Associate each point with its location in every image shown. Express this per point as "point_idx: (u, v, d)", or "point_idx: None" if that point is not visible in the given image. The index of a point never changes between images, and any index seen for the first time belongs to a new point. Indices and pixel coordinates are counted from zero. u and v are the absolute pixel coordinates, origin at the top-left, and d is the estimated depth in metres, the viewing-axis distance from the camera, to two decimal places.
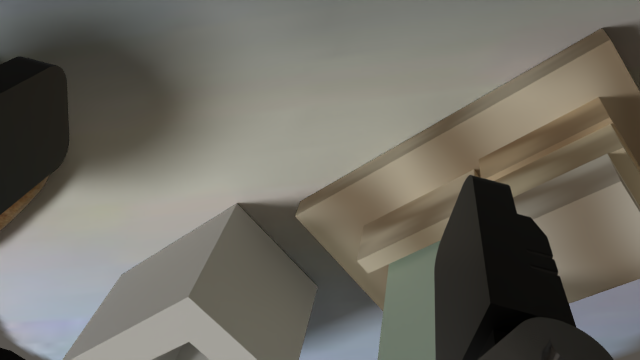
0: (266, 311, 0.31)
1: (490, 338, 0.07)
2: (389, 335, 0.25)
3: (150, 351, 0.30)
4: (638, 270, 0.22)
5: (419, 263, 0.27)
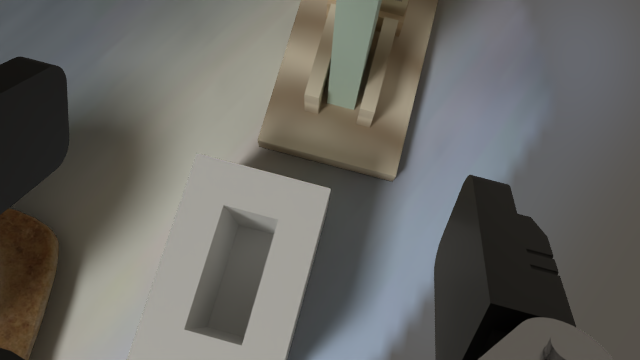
0: None
1: (490, 338, 0.07)
2: None
3: (199, 249, 0.30)
4: None
5: None
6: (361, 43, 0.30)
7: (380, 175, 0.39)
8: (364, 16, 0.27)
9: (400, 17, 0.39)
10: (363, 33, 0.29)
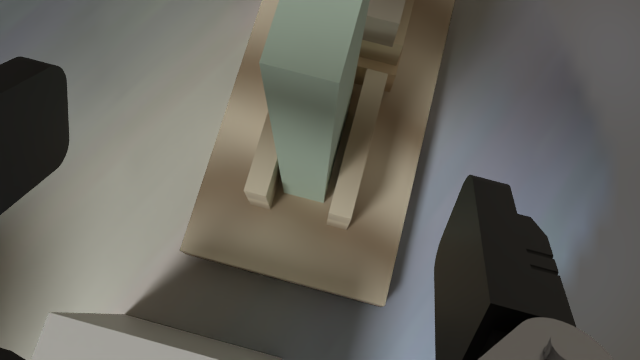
0: (198, 345, 0.22)
1: (490, 338, 0.07)
2: None
3: None
4: None
5: None
6: (319, 136, 0.17)
7: (362, 301, 0.26)
8: (317, 103, 0.15)
9: (391, 67, 0.26)
10: (320, 125, 0.16)
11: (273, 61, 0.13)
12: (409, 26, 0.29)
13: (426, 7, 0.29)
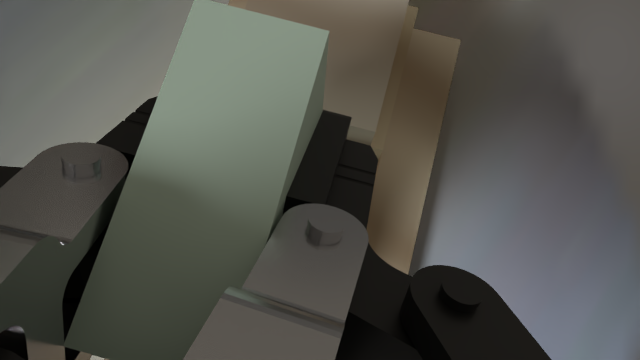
0: None
1: None
2: None
3: None
4: (390, 14, 0.17)
5: None
6: None
7: None
8: None
9: None
10: None
11: (93, 340, 0.07)
12: (395, 103, 0.23)
13: (417, 77, 0.23)
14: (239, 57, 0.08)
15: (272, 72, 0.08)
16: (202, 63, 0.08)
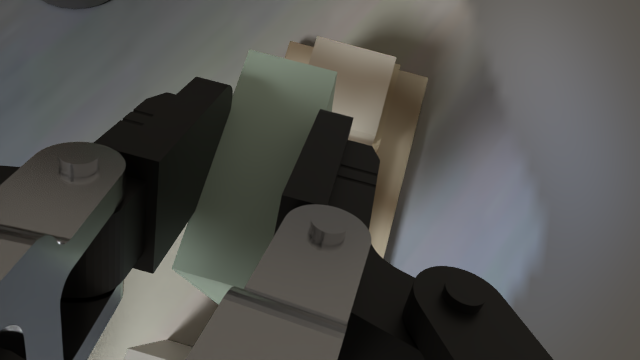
0: None
1: None
2: None
3: None
4: (384, 73, 0.32)
5: None
6: None
7: None
8: None
9: None
10: None
11: (190, 266, 0.11)
12: (387, 116, 0.37)
13: (401, 100, 0.38)
14: (278, 89, 0.12)
15: (300, 98, 0.12)
16: (255, 92, 0.12)
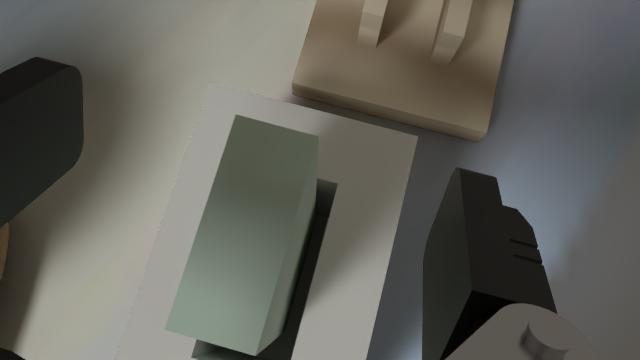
0: None
1: (473, 325, 0.07)
2: None
3: None
4: None
5: None
6: None
7: (463, 133, 0.28)
8: None
9: None
10: None
11: (181, 326, 0.12)
12: None
13: None
14: (263, 154, 0.13)
15: (283, 163, 0.12)
16: (240, 158, 0.12)
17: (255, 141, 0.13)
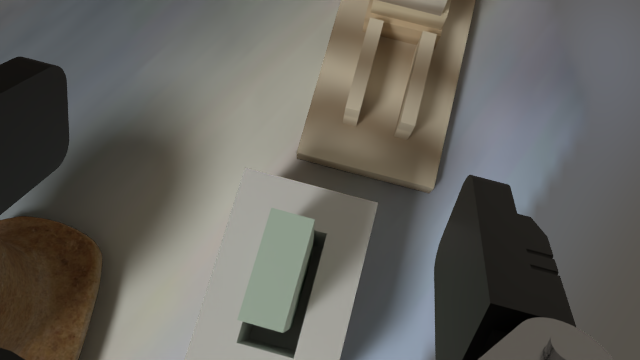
0: None
1: (490, 338, 0.07)
2: None
3: (250, 263, 0.31)
4: None
5: None
6: None
7: (418, 187, 0.39)
8: None
9: (437, 31, 0.39)
10: None
11: (245, 318, 0.23)
12: None
13: None
14: (285, 229, 0.24)
15: (296, 234, 0.24)
16: (274, 231, 0.24)
17: (281, 222, 0.24)
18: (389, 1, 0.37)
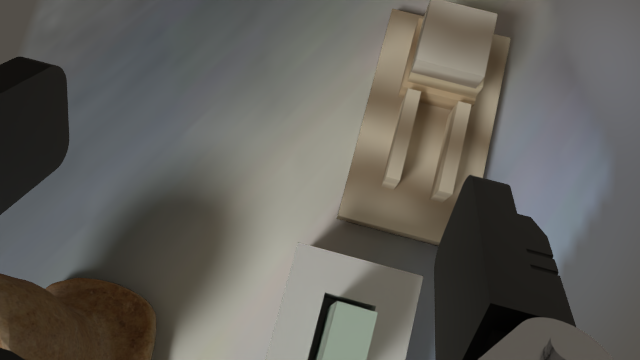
0: None
1: (490, 338, 0.07)
2: None
3: (305, 335, 0.33)
4: (488, 26, 0.39)
5: (317, 351, 0.36)
6: None
7: None
8: None
9: (471, 99, 0.42)
10: None
11: None
12: None
13: (489, 57, 0.45)
14: (351, 321, 0.26)
15: (361, 326, 0.26)
16: (340, 323, 0.26)
17: (347, 315, 0.26)
18: (427, 74, 0.40)
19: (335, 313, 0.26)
